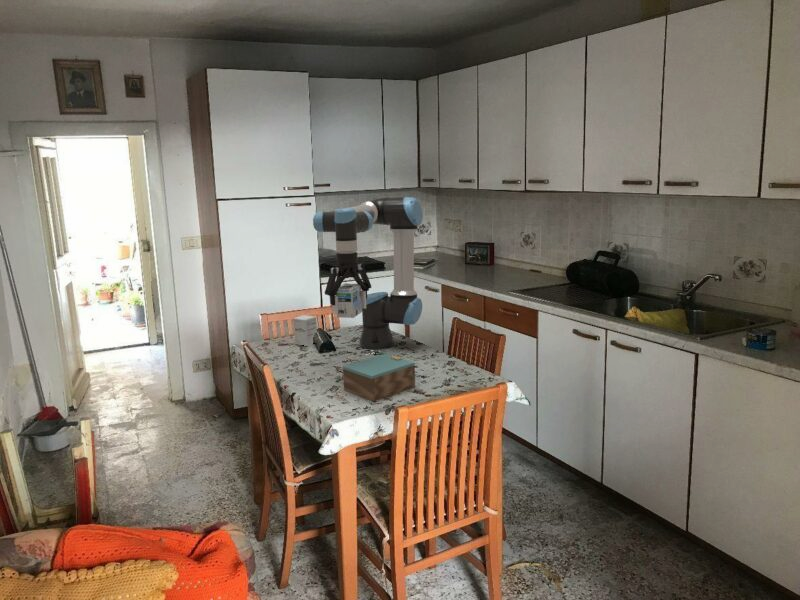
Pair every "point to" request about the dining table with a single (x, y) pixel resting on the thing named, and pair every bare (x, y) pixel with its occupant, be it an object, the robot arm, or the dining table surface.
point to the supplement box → (304, 329)
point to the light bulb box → (349, 300)
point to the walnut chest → (379, 383)
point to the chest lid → (378, 366)
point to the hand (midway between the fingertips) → (349, 310)
